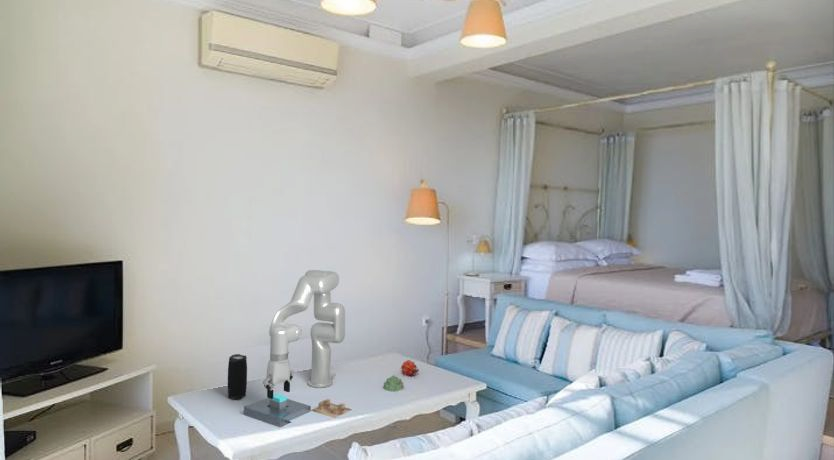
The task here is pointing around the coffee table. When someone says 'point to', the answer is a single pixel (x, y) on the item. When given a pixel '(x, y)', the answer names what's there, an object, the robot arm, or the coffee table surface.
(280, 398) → the plug
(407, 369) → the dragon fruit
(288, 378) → the robot arm
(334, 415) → the brown holder base
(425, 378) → the coffee table surface
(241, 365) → the portable speaker
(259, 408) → the port
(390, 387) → the decorative artifact
